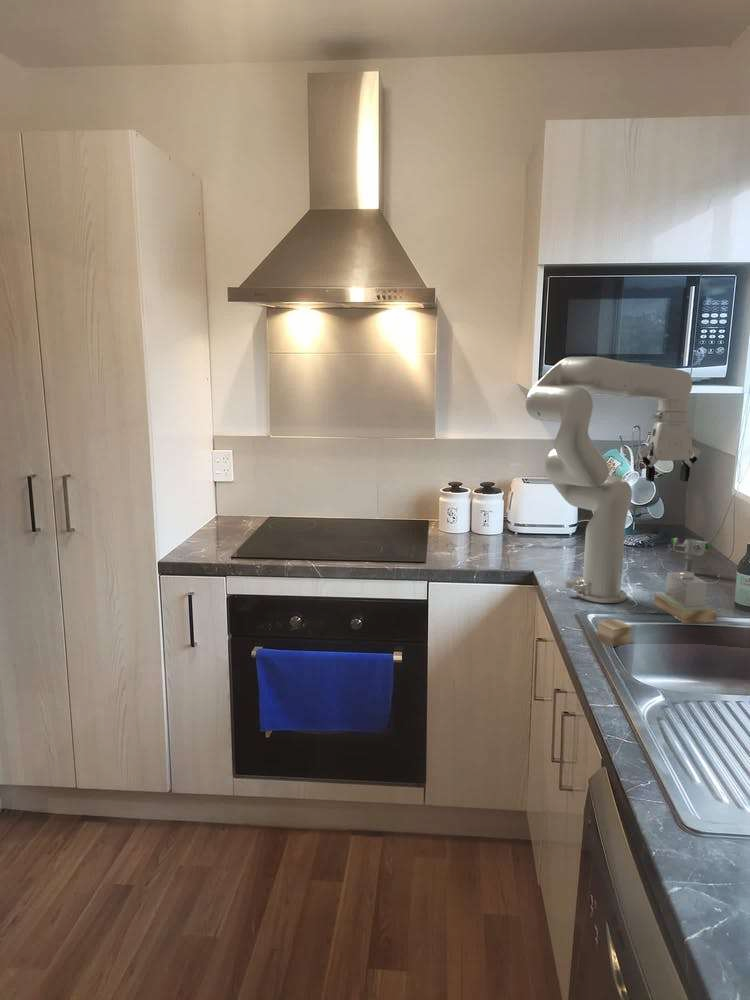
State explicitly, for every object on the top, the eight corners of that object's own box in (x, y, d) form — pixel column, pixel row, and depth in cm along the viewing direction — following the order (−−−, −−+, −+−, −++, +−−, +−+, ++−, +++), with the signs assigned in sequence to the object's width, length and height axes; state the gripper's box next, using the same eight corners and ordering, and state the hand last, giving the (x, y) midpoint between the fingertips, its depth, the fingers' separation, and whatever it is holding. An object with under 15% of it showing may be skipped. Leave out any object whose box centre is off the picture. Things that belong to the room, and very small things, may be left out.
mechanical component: (671, 569, 211) (674, 536, 210) (707, 575, 205) (711, 542, 203) (667, 571, 209) (670, 538, 207) (704, 578, 203) (708, 543, 201)
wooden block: (683, 623, 167) (684, 611, 166) (654, 603, 180) (654, 592, 180) (715, 622, 167) (716, 610, 167) (684, 602, 181) (685, 591, 181)
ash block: (611, 647, 152) (613, 629, 152) (596, 639, 157) (597, 621, 156) (630, 644, 154) (631, 626, 154) (614, 636, 159) (615, 618, 158)
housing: (665, 595, 177) (667, 568, 176) (684, 594, 178) (686, 567, 177) (684, 607, 169) (687, 578, 167) (704, 606, 169) (707, 578, 168)
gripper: (648, 419, 187) (643, 483, 190) (710, 419, 189) (704, 482, 192) (635, 417, 194) (630, 479, 198) (695, 417, 196) (689, 478, 199)
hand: (666, 480), depth 195 cm, fingers open, 9 cm apart
